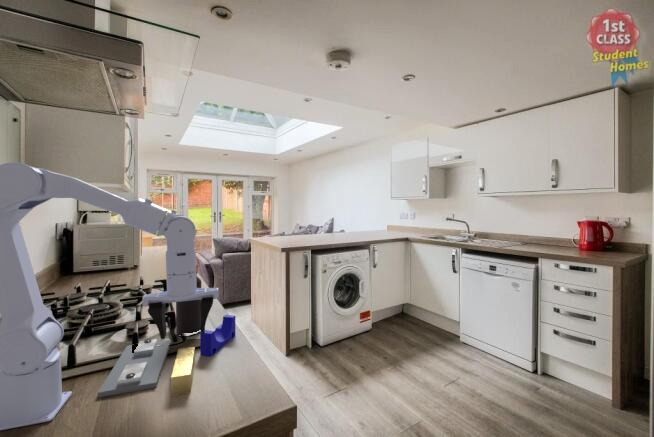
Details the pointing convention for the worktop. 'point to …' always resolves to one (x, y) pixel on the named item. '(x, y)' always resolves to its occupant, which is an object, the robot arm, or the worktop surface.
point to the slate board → (127, 358)
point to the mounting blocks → (137, 371)
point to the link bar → (183, 371)
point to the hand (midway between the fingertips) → (183, 334)
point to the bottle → (189, 313)
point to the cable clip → (217, 336)
